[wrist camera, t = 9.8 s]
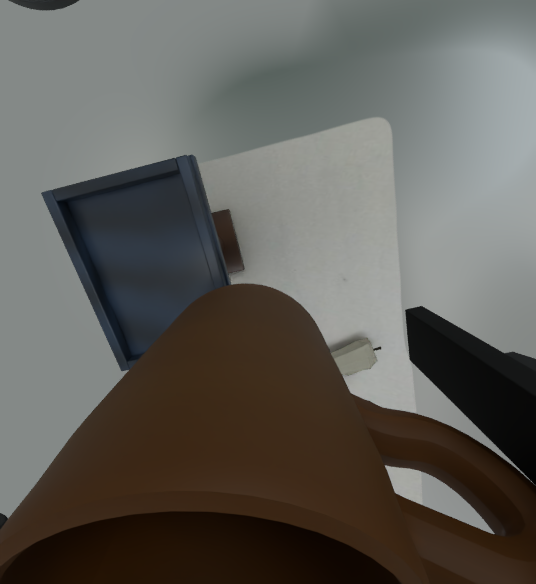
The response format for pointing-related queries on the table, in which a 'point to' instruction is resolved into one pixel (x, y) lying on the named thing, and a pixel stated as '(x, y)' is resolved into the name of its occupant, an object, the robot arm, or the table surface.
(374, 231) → the table surface
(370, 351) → the faceted club
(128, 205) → the pedestal tray stand
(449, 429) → the mug
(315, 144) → the table surface
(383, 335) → the table surface
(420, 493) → the table surface
